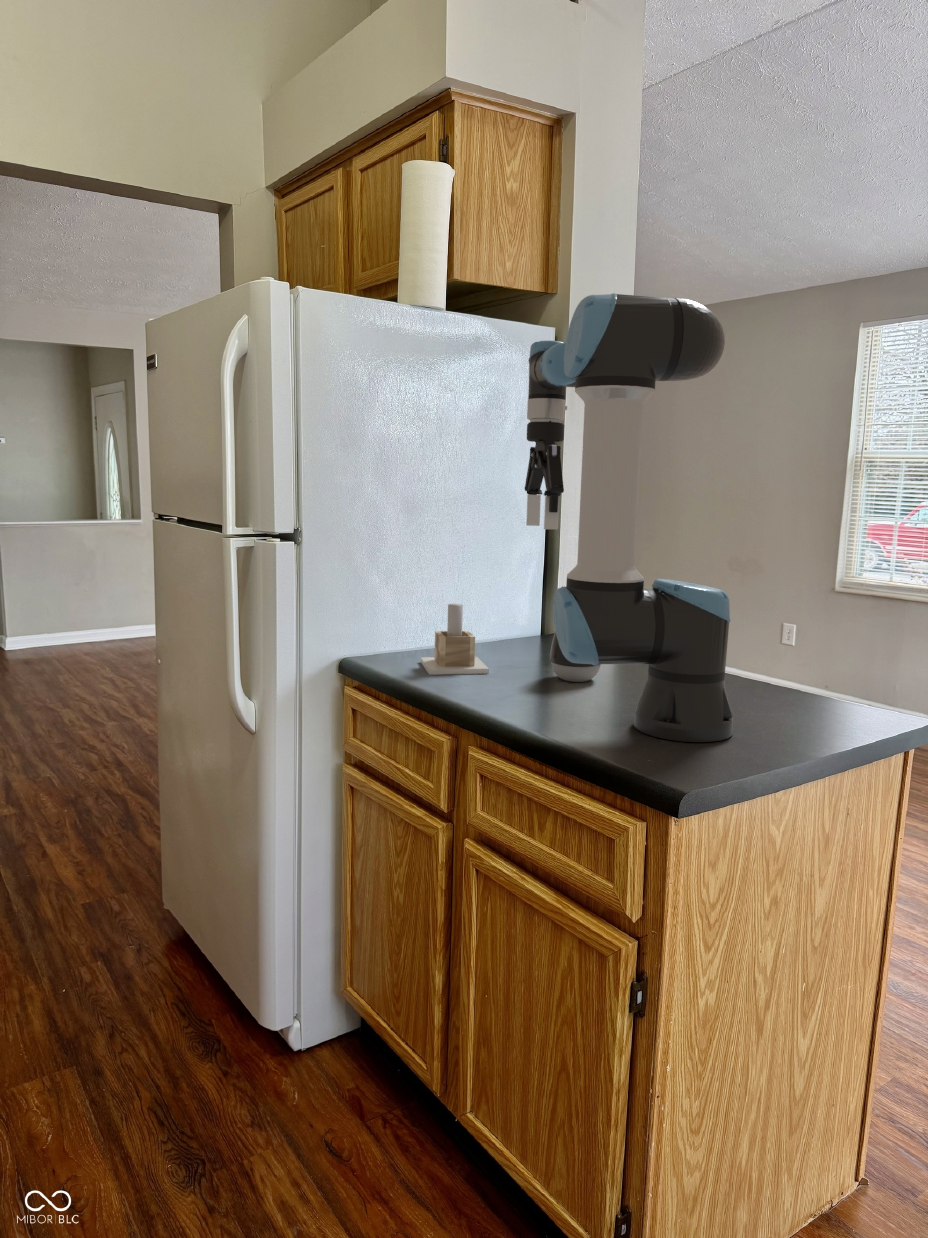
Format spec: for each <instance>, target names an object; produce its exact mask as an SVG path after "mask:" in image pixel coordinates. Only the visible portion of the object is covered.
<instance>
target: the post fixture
mask: <svg viewBox="0 0 928 1238" xmlns="http://www.w3.org/2000/svg"><path fill="white" fill-rule="evenodd" d="M463 610H464V606H463V604H461V603H448V604H447V628H446V629H447V630H446V631H447V636H462V631H463V616H464V615H463V613H464V611H463ZM434 658H435V656H434V657H433V656H432V657H431V656H430V657H429V656H424V657H420V663H421V665H422V666H423V668H424V669H425V670H426V672H427V674H428V675H429V676H432V675H475V674H476V675H478V674H479V675H480V674H481V675H482V674H485V675H487V674H490V668H489V667H488V666H487V665H486V664H485V663H484V662H483V661H482V660H481V659H480V658H479V657H478V656H475V662H474V666H458V667H440V666H439V665H438V664H437V662H436V661H435V660H434Z"/></svg>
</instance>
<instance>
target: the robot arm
mask: <svg viewBox="0 0 928 1238" xmlns="http://www.w3.org/2000/svg"><path fill="white" fill-rule="evenodd" d="M723 328H724V327H723V325H722V324H721V321H720V320H719V319H718V317H717V316H716V315H715V314H714V313H713V311H711V310H710V309H709V308H708V307H706V306H705V305H703V304H701V303H699V302H697V301H693V300H691V299H687V298H682V297H660V296H648V295H647V296H646V295H633V294H622V293H621V294H620V293H610V294H590V295H587V296H585V297H583V298H582V299H581V300H580V301H579V303H578V304H577V305H576V307H575V309H574V312H573V314H572V317H571V320H570V323H569V326H568V331H567V334H566V338H565V339H566V340H565V342H563V341H560V340H539V341H535V342H533V343H532V344H531V345H530V351H529V357H528V393H527V394H528V397H527V410H526V411H527V412H526V418H527V420H529V422H528V423H527V424H526V440H527V441H528V442H532V443H533V442H535V446H530V448H529V459H528V460H529V461H528V467H527V471H526V472H527V473H526V477H525V478H526V479H525V485H524V491H525V492H526V494H527V495H526V496H527V498H526V522H525V523H526V524H525V525H526V526H529V527H531V526H532V527H533V526H534V527H538V526H540V525H541V523H540V522H541V500H542V499H541V495H543V496H544V498H545V499H544V516H543V517H544V521H543V529H544V530H559V519H560V499H561V498H560V497H561V495H562V494H563V493H564V491H565V489H564V480H563V470H562V469H563V468H562V459H561V458H562V457H561V445H560V444H556V443H562V442H563V441H564V440H565V424H564V422H562V421H564V420H565V411H567V410H568V406H567V405H566V392H567V391H566V390H567V388H574V392H575V394H577V396H578V397H579V398H580V399H581V400H582V401H583V404H584V407H583V408H584V411H583V429H582V431H583V432H582V450H581V451H582V452H581V453H582V454H581V455H582V457H581V475H580V476H581V479H580V496H579V497H580V500H579V516H578V517H579V518H578V519H579V520H578V521H579V523H578V538H577V539H578V540H577V542H578V543H577V544H578V545H577V563H576V565H575V567H573V569H572V570H570V571H569V572H568V573H566V583H565V585H566V586H561V587H559V588H557V589H556V590H555V592H554V594H553V595H554V596H553V597H554V599H553V603H552V604H553V622H554V630H555V631H556V635H557V639H558V643H559V646H560V649H561V651H562V653H563V655H564V656H565V658H566V659H567V660H568V661H570V662H572V663H579V664H592V665H594V666H597V665H598V664H601V665H648V671H647V680H646V683H645V685H644V688H643V690H642V692H641V694H640V697H639V699H638V702H637V704H636V708H635V710H634V717H633V726H634V728H635V729H637V731H639V732H641V733H642V734H645V735H648V736H651V737H655V738H659V739H662V740H663V739H664V740H669V741H676V742H685V743H686V742H687V743H712V742H719V741H723V740H727V739H729V738H730V737H732V735H733V731H734V730H733V729H734V717H733V713H732V709H731V706H730V701H729V698H728V694H727V690H726V686H725V681H726V680H725V678H726V667H727V665H726V664H727V653H728V642H729V641H728V640H729V630H730V629H729V628H730V623H731V618H730V615H731V614H730V598H729V595H728V593H726V591H724V590H722V589H719V588H716V587H714V586H713V587H712V586H708V585H703V584H698V583H692V582H687V581H681V580H675V579H674V580H673V579H665V578H664V579H663V578H656V579H654V580H653V583H652V584H651V588H644V587H645V586H644V585H645V578H644V576H643V575H642V574H641V573H640V572H639V570H638V569H637V568H636V566H635V565H636V564H635V563H636V561H635V560H636V546H637V545H636V544H637V531H638V530H637V527H638V526H637V525H638V513H639V512H638V510H639V509H638V508H639V493H640V492H639V491H640V477H641V476H640V473H641V471H640V470H641V454H642V437H643V423H644V422H643V420H644V417H643V416H644V407H645V406H644V405H645V403H646V402H647V401H648V399H650V398H651V396H652V395H653V396H654V394H655V392H656V382H677V381H679V382H681V381H688V380H693V379H697V378H700V377H703V376H706V374H709V373H710V372H711V371H713V369H715V368H716V366H717V365H718V363H719V362H720V361H721V358H722V355H723V353H724V350H725V344H726V343H725V342H726V341H725V338H726V337H725V332H724V329H723ZM543 480H544V484H545V489H546V490H544V493H543V492H542V489H541V488H542V483H543Z"/></svg>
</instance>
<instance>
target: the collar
mask: <svg viewBox="0 0 928 1238" xmlns="http://www.w3.org/2000/svg"><path fill="white" fill-rule="evenodd" d="M475 651H476V636H475V635H473V634H472V633H471V632H470V631H469V630H462V636H447V630H437V631H436V630H435V631H434V657H435V658H434V660H435V661H436V662H437V664H438V665H439V666H440V667H458V666H474V662H475V657H476V656H475V655H476V652H475Z"/></svg>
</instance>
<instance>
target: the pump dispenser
mask: <svg viewBox="0 0 928 1238" xmlns="http://www.w3.org/2000/svg"><path fill="white" fill-rule="evenodd" d="M549 652H550V653H549V661H550V662H551V667H552V670H553V672H554V673H555V674H556V676H557V677H558V678H560V679H561V680H563V681H566V682H572V683H584V682H588V681H590V680H592V679H594V678H595V677H596V676H597V675H598V672H599V671H600V668H601V665H602V664H598V665H597V666H594V665H592V664H579V663H572V662H570V661H568V660H567V659H566V658H565V656H564V655H563V653H562V651H561V649H560V646H559V643H558V639H557V635H556V630H555V631H554V634H553V638H552V642H551V647H550V651H549Z"/></svg>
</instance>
